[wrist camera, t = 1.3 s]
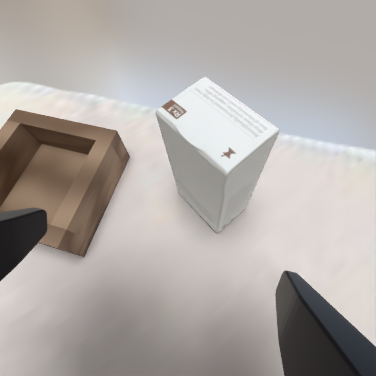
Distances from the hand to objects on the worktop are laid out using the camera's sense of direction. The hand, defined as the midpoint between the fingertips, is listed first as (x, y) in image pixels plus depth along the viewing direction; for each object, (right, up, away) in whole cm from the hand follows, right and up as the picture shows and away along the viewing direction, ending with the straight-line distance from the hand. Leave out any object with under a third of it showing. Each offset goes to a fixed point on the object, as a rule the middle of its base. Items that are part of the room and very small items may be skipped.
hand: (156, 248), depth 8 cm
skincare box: (+3, +1, +15) cm, 16 cm away
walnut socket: (-13, +2, +16) cm, 21 cm away
